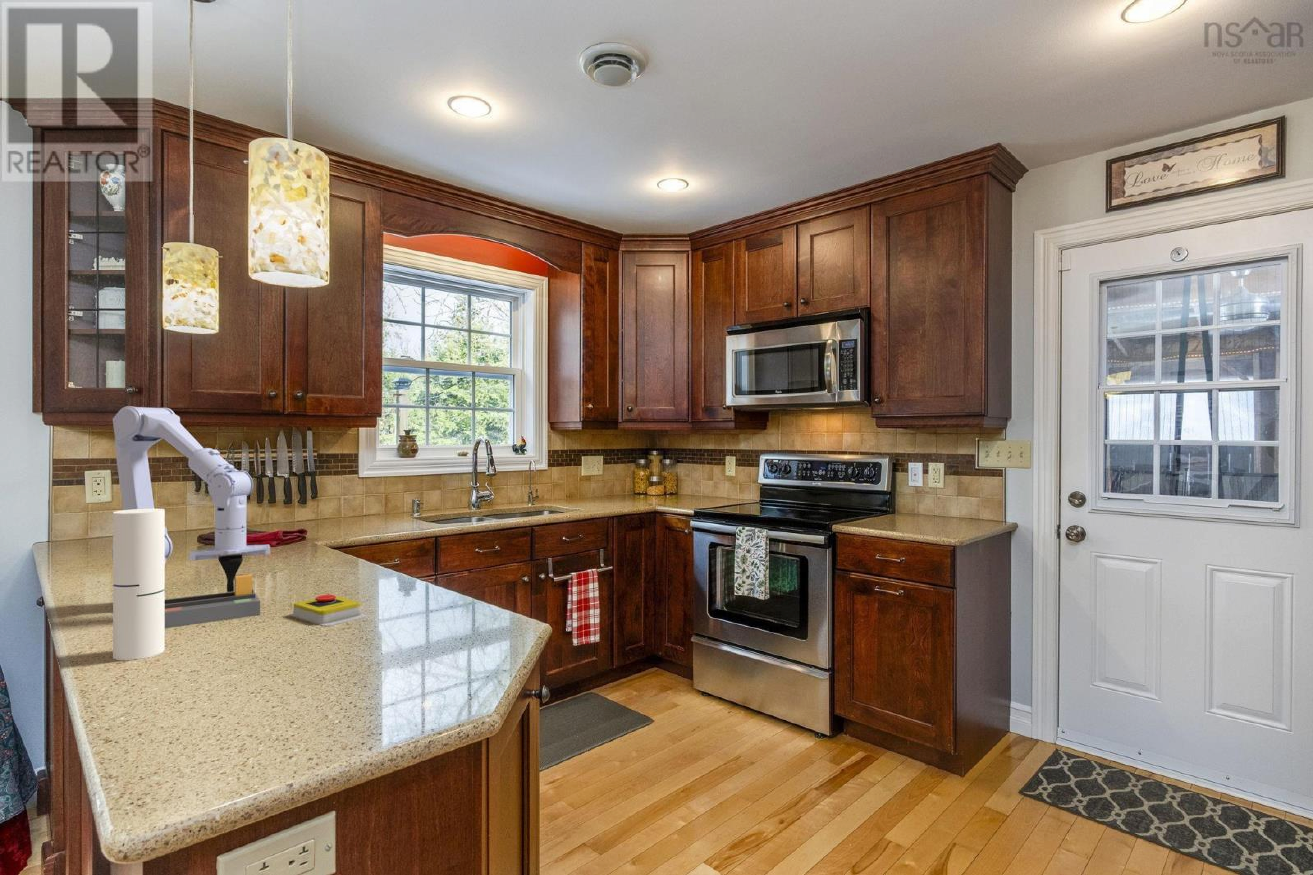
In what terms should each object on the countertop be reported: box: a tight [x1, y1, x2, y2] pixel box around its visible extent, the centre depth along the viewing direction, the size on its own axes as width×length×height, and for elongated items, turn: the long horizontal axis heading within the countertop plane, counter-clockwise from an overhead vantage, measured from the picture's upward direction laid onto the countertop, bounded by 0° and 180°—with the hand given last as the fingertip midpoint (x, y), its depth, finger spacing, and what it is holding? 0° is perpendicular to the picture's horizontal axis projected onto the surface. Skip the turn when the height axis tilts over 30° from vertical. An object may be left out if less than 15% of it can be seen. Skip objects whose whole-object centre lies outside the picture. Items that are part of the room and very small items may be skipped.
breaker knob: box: [233, 573, 253, 596], centre depth 145 cm, size 3×3×4 cm
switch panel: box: [165, 588, 261, 629], centre depth 141 cm, size 12×18×4 cm, turn 127°
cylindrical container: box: [112, 508, 166, 661], centre depth 117 cm, size 7×7×25 cm
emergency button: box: [289, 594, 368, 627], centre depth 142 cm, size 9×4×15 cm
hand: (230, 590), depth 144 cm, fingers closed
